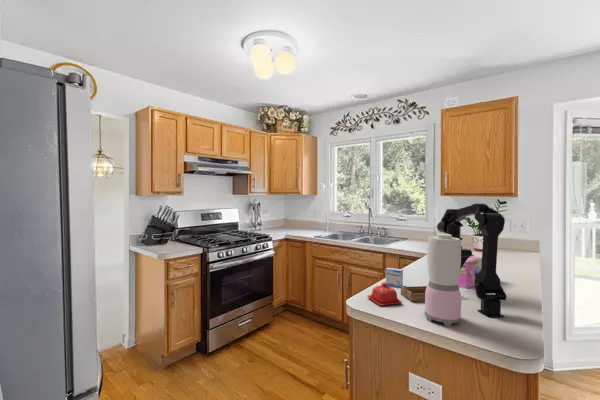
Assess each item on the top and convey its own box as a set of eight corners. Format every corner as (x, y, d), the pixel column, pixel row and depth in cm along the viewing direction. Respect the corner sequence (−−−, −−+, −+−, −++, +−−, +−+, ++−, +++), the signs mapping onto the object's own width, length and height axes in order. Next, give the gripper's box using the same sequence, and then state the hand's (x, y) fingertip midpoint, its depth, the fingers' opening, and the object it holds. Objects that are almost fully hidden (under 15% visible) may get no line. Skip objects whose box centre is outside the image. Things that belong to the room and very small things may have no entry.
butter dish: (379, 307, 120) (379, 287, 120) (365, 298, 132) (366, 279, 131) (403, 305, 123) (403, 285, 123) (388, 296, 135) (388, 278, 134)
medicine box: (385, 285, 150) (385, 268, 149) (387, 283, 153) (387, 267, 153) (401, 288, 146) (401, 270, 146) (402, 285, 150) (403, 269, 150)
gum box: (471, 277, 167) (471, 254, 166) (486, 281, 160) (487, 256, 160) (451, 285, 152) (451, 259, 152) (467, 289, 146) (468, 262, 146)
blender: (455, 330, 101) (457, 238, 100) (419, 319, 109) (421, 234, 108) (466, 316, 112) (468, 233, 112) (433, 307, 121) (435, 230, 120)
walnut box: (441, 301, 129) (441, 292, 128) (411, 302, 127) (411, 293, 127) (428, 293, 138) (428, 285, 138) (400, 294, 136) (400, 286, 136)
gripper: (427, 232, 149) (426, 263, 149) (450, 238, 130) (449, 272, 130) (447, 232, 150) (446, 262, 150) (473, 238, 132) (472, 272, 132)
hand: (452, 267), depth 141 cm, fingers open, 9 cm apart
